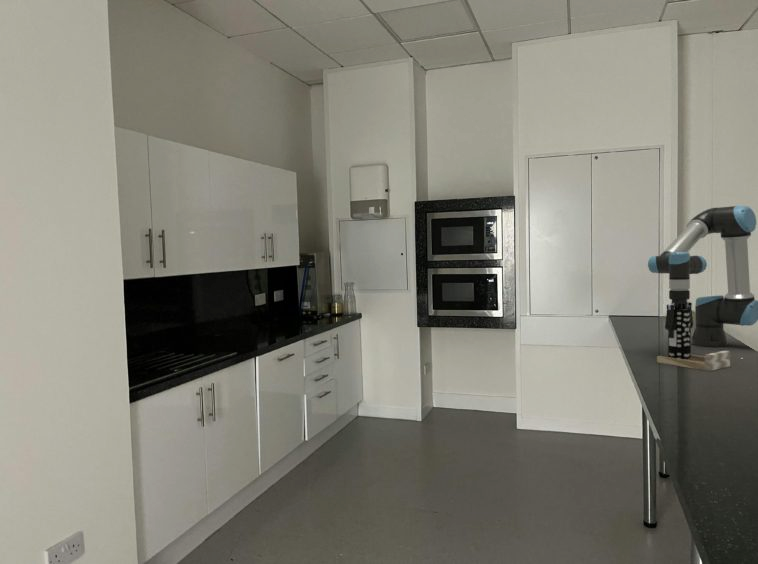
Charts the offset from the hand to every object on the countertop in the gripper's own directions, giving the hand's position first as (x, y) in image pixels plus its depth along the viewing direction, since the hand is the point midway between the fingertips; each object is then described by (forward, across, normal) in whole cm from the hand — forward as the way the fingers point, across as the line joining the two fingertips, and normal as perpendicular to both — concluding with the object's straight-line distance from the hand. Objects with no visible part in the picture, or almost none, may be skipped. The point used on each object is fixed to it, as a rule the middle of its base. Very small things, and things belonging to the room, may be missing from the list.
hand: (679, 344), depth 244 cm
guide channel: (+7, 0, +5) cm, 9 cm away
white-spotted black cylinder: (+6, 0, 0) cm, 6 cm away
